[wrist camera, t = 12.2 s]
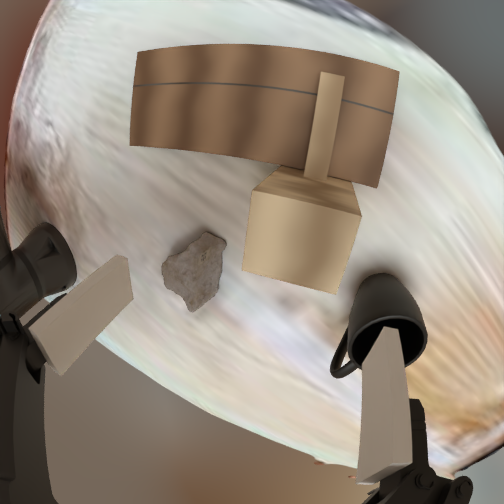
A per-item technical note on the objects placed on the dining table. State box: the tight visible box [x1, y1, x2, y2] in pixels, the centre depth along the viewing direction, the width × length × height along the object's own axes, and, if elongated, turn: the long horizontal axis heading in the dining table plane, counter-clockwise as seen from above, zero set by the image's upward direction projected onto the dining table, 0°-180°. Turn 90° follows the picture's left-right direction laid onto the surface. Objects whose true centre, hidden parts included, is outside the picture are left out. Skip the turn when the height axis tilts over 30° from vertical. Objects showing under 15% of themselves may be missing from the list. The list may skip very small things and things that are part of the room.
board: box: [130, 44, 399, 188], centre depth 24 cm, size 28×12×2 cm, turn 83°
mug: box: [330, 273, 428, 378], centre depth 27 cm, size 8×12×10 cm
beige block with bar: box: [242, 72, 362, 295], centre depth 21 cm, size 7×16×12 cm, turn 173°
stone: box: [162, 232, 226, 312], centre depth 33 cm, size 10×8×6 cm
